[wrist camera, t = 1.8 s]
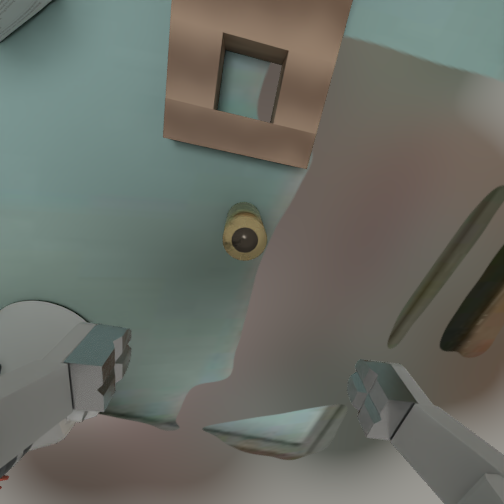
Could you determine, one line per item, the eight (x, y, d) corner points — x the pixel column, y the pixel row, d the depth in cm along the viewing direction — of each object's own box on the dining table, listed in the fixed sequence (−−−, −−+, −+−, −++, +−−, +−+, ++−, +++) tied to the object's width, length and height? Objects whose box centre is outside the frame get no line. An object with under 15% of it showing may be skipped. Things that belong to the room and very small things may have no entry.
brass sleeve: (256, 237, 30) (261, 264, 22) (224, 231, 29) (219, 256, 22) (263, 205, 29) (271, 223, 21) (230, 199, 28) (226, 214, 21)
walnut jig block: (298, 167, 27) (306, 169, 24) (172, 139, 25) (163, 137, 22) (382, -155, 19) (412, -220, 15) (201, -227, 17) (191, -318, 14)
